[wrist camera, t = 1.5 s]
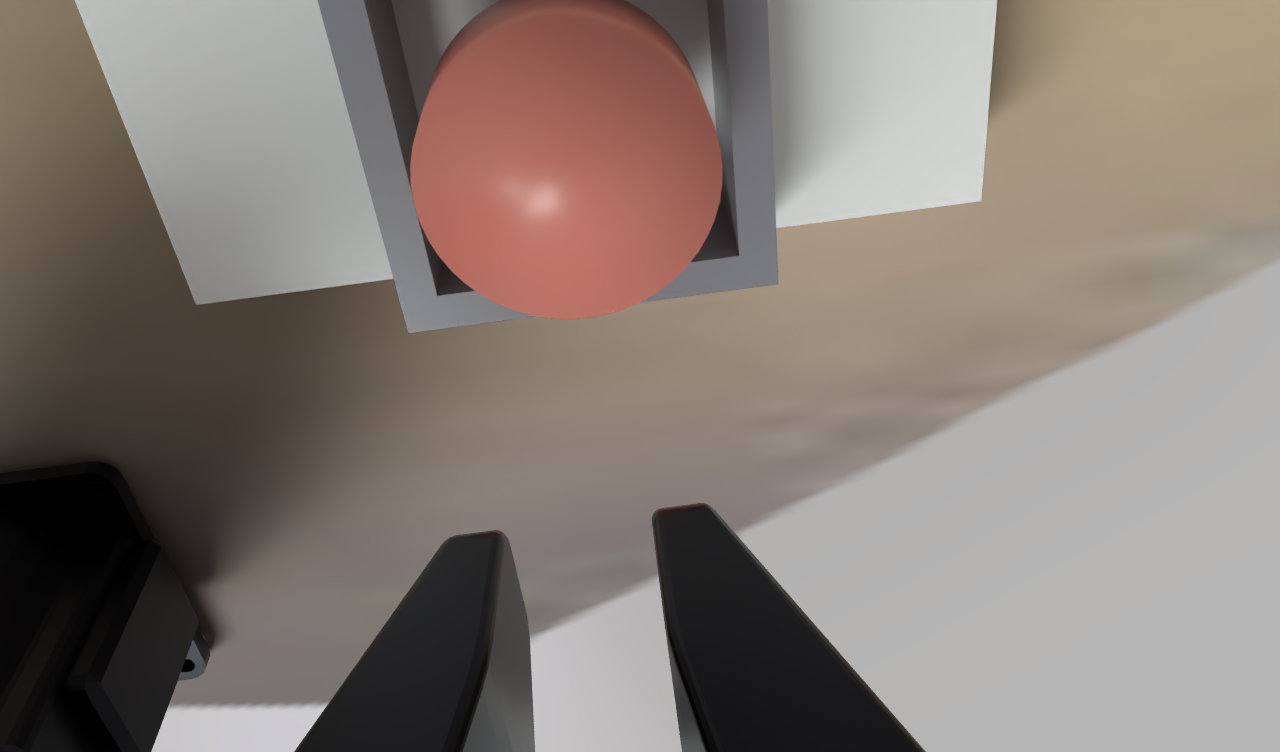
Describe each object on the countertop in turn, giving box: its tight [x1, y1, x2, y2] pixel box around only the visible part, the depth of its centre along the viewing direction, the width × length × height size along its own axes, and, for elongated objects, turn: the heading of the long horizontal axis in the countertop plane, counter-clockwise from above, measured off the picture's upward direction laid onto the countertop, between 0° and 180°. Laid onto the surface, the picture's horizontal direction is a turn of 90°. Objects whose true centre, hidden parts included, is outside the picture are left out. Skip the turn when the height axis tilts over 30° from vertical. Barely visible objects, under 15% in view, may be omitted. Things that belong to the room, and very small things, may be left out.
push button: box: [410, 0, 722, 319], centre depth 14 cm, size 4×4×2 cm
